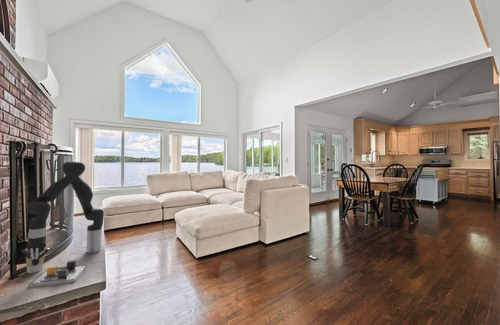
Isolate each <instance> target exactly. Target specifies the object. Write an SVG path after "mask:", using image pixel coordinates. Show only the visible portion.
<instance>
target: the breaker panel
mask: <svg viewBox="0 0 500 325" xmlns="http://www.w3.org/2000/svg"><path fill="white" fill-rule="evenodd" d="M86 269H87V266H86V265H83V266H81V265H80V266H77V260H68V261H67V262H66V266H60V267H59V266H57V273H56V274H55V275H47V269H42V271H41V272H40V273H38V274H37V275H36V276H35V277H34V278H32V280H30V281H29V282H28V283H27V285H26V286H27V288H36V287H43V286H51V285H53V286H54V285H61V284H62V285H64V284H71V283H76V281H77V280H78V279H79V278H80V277H81V275H82V274H83V273H84V272H85V271H86Z"/></svg>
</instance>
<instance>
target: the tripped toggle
mask: <svg viewBox="0 0 500 325" xmlns="http://www.w3.org/2000/svg"><path fill="white" fill-rule="evenodd" d="M57 267H58V265H55V264H52V265H50V266H48V267H47V268H46V270H47V275H55V274H56V273H57Z"/></svg>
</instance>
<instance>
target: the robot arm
mask: <svg viewBox="0 0 500 325" xmlns="http://www.w3.org/2000/svg"><path fill="white" fill-rule="evenodd" d="M85 170H86V165H85V164H84V163H83V162H80V161H66V162H64V163H63V164H62V171H63V174H64V175H65V176H63V177H62V178H60V179H59V180H57V181H55V182H54V183H52V184H51V185H50V186H49V187H48V188H47V189H45V191H44V192H43V193H42V194H40V195H39V196H36V197H35V199H32V201H31V202H30V203H28V205H27V208H26V210H27V212H28V213H30V214H35V215H36V216H35V217H33V218H31V219H30V220H29V225H28V229H29V230H28V234H27V246H26V248H25V249H23V250H22V251H21V253H22V254H23V255H24V256H25V258H26V257H27V258H28V259H32V265H33V266H35V265H38V263H39V260H40V258H41V257H43V256H44V255H46V254H47V253H48V252H49V251H50V250H51V247H47V245H46V241H47V219H48V217H49V214H50V212H51V205H50V204H49V203H51V202H54V201H55V200H56V199H57V198H58V197H59V196H60V195H61V194H62V192H63V191H65V189H66V188H68V186H69V185H71V187H72V189H73V190H74V193H75V196H76V197H77V199H78V201H79V204H80V206H81V208H82V212H83V215H84V218H85V219H86V220H87V221H91V222H93V223H92V224H89V225H88V226H87V227H86V228H87V229H86V230H87V231H86V249H85V252H86V253H87V254H95V253H98V252H100V251H101V250H102V228H103V225H104V216H105V213H104V210H103V209H102V208H94V207H93V205H92V200H93V197H94V194H93V191H92V189H91V187H90V185H89V184H88V183H87V182H86V181H84V180H83V179H82V178H81V175H82V174H84V172H85ZM43 249H44V252H43V253H42V254H41V251H42V250H43ZM44 257H45V256H44Z"/></svg>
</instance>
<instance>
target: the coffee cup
mask: <svg viewBox="0 0 500 325" xmlns="http://www.w3.org/2000/svg"><path fill="white" fill-rule="evenodd" d="M43 252H44V249H43V250H42V251H41V254H42V253H43ZM45 255H46V254H45ZM45 255H44V256H43V257H41V258H40V260H39V263H38V265H35V266H33V265H32V259H28V258H27V257H26V256H25V265H26V272H27V274H34V273H33V272H35V273H37V271H38V272H40V271H41V269H42V270H43V265H44V263H45V262H44V261H45ZM39 270H40V271H39Z"/></svg>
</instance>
